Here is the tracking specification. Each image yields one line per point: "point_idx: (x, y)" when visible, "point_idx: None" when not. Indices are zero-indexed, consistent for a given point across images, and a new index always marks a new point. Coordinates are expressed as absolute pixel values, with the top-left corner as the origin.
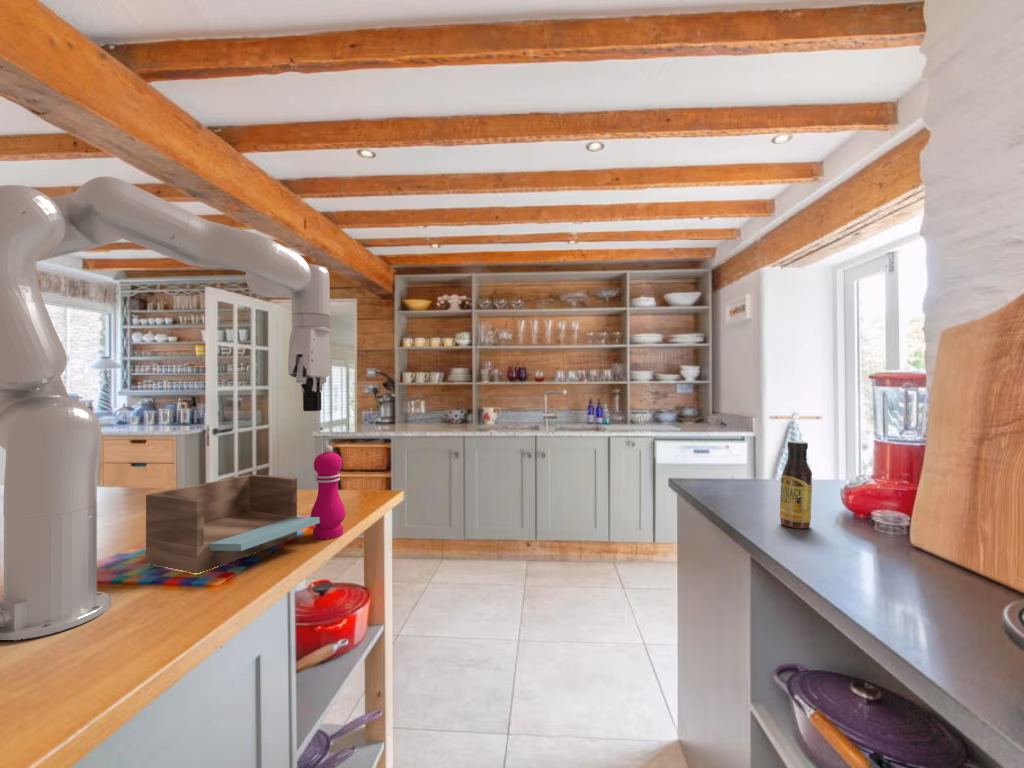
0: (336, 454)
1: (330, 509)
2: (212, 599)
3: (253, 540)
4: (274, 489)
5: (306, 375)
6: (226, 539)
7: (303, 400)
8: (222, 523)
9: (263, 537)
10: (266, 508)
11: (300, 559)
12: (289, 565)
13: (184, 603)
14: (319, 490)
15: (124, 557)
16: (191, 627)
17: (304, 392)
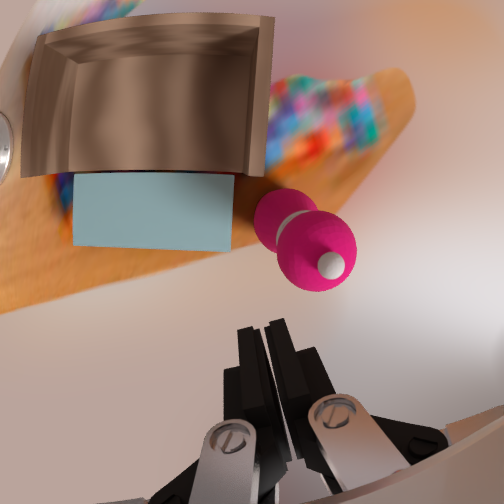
0: (331, 283)
1: (269, 248)
2: (50, 254)
3: (92, 245)
4: (250, 114)
5: (478, 451)
6: (92, 183)
7: (240, 367)
8: (160, 84)
9: (108, 246)
10: (248, 98)
11: (169, 255)
12: (146, 258)
13: (35, 235)
14: (278, 226)
15: (104, 15)
16: (21, 286)
17: (247, 416)
